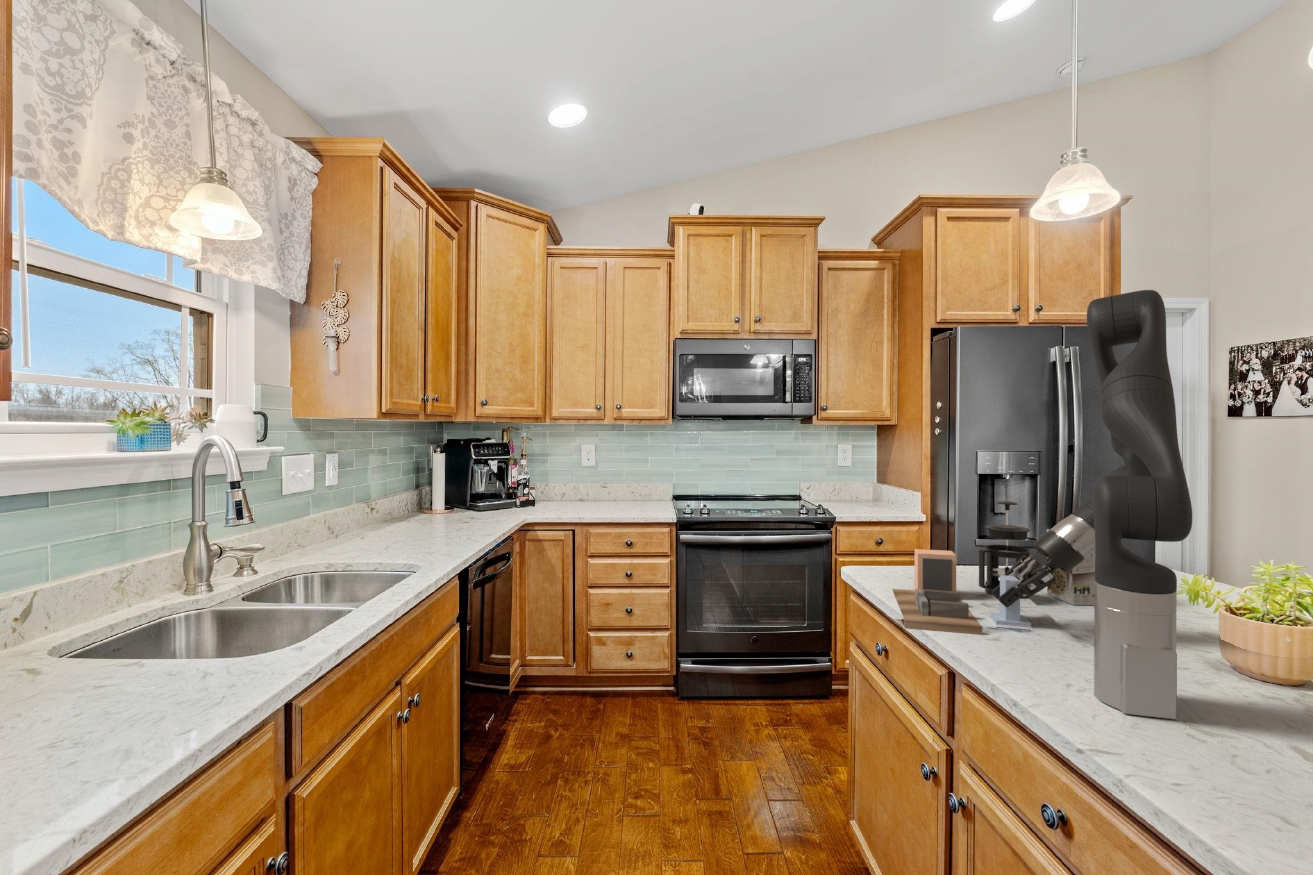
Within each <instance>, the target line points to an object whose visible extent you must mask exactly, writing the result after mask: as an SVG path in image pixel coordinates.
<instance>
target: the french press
mask: <svg viewBox="0 0 1313 875" xmlns="http://www.w3.org/2000/svg"><path fill="white" fill-rule="evenodd" d="M996 503H997V504H998V505H1004V511H1006V512H1005V514H1006V517H1005V518H1006V519H1005V524H987V525H985V529H986V531H987V532H986V533H987V537H989V538H993V539H997V540H1004V541H1005V540H1006V541H1005V543H1006V544H989V545H985V546H984V549H983V548H981V549H978V586H979V587H980V588H982V589H984V591H985V593H987V594H989V595H992V596H994V595H993V594H992V590H993V589H995V588H996V587H997V586H998V585H1000V575H1005V573H1006V572H1007V571H1008V570H1009V569H1010V567H1009V559H1015V563H1016V562H1017V561H1018V560H1019V559H1020V558H1021V557H1022V556H1026V557H1027V558H1028V557H1031V550H1030V549H1028V548H1026V547H1023V546H1016V545H1009V541H1025V540H1027V539H1028V533H1029V532H1031V529H1030V528H1027V527H1026V526H1025V527H1024V526H1020V525H1019V526H1018V525H1012V524H1009V511H1010V509H1011V506H1015V505H1018V503H1017V502H1014V501H1009V500H1008V501H1006V500H1005V501H1004V500H1003V501H997V502H996ZM985 554H986V556H985ZM999 558H1004V559H1005V560H1006V561H1005V566H1004V568H1003V567H999V564H1000V563H999V560H1000V559H999ZM985 560H986V561H985ZM985 562H986V563H985ZM985 564H986V565H985ZM985 566H986V567H985ZM985 568H986V569H985ZM985 572H986V573H985ZM985 576H986V579H985ZM1015 577H1017V576H1015ZM985 580H986V581H985ZM1030 598H1031V597H1029V596H1028V595H1026V596H1022V597H1020V600H1021V599H1029V600H1031V599H1030Z"/></svg>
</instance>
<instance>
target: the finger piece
mask: <svg viewBox="0 0 1313 875" xmlns="http://www.w3.org/2000/svg"><path fill="white" fill-rule="evenodd" d="M999 580H1000V596H1001V595H1002V594H1004V593H1005V592H1006V591H1007V590H1009V589H1010V588H1011V587H1013V586H1014V584H1015V583H1016V582H1018V579H1017V578H1016V577H1014V576H1005V575H1000V577H999ZM1013 588H1014V587H1013ZM989 618H990V619H991V620H992V621H993V623H994V624H995V625H996V626H995V628H996V629H1002V630H1003V629H1005V630H1016V631H1017V630H1018V631H1027V632H1028V631H1029V632H1031V631H1032V629H1029V628H1032V622H1030V621H1029V620H1028V619H1027V618H1026V616H1024V615H1023V614H1021V599H1020V598H1019V599H1018V600H1017V601H1015V602H1014V603H1013V604H1012V605H1010V606H1009V607H1005V606H1004V605H1003V604H1002V603H1001V602H1000V601H999V613H997V612H989ZM997 625H998V626H997ZM1003 626H1007V627H1003ZM1009 626H1010V627H1009ZM1016 627H1020V628H1016ZM1021 627H1022V628H1021Z"/></svg>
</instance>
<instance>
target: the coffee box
mask: <svg viewBox="0 0 1313 875" xmlns="http://www.w3.org/2000/svg"><path fill="white" fill-rule="evenodd" d="M1050 529H1051V528H1046V533H1047V532H1048V531H1049V530H1050ZM1052 575H1053V576H1054V577H1055V578H1056V581H1055V582H1053V583H1052V584H1050V585H1049V586H1047V587H1046V591H1047V592H1046V593H1047V595H1048V596H1051V597H1052V598H1055V599H1058V600H1060V601H1062V602H1065V603H1067V604H1069V605H1073V606H1094V600H1095V551H1094V552H1093V553H1092V554H1090V555H1089V556H1088V557H1087V558H1086V559H1084V560H1083V561H1082V562H1081V563H1079V564H1078V565H1077V566H1076V567H1074V568H1073V569H1072V570H1071V571H1069V572H1068V573H1064V572H1062V571H1061V570H1059V569H1058V568H1057V570H1056V571H1055V572H1054V573H1053V574H1052Z"/></svg>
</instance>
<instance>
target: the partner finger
mask: <svg viewBox="0 0 1313 875" xmlns="http://www.w3.org/2000/svg"><path fill="white" fill-rule="evenodd" d="M915 589H921V590H922V592H923V593H924V590H939V591H954V592H957V555H956V554H955V553H954V551H953V550H943V549H942V550H939V549H925V548H923V549H921V548H914V590H915Z"/></svg>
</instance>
